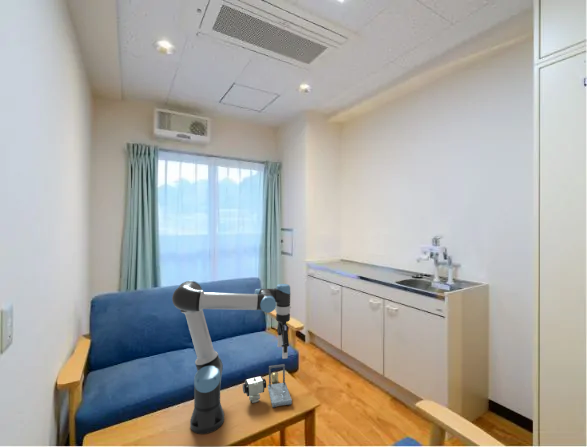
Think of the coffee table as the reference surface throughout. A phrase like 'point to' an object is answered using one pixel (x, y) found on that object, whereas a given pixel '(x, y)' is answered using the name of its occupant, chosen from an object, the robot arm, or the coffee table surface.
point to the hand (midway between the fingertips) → (282, 352)
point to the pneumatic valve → (254, 388)
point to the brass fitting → (274, 377)
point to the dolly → (279, 390)
